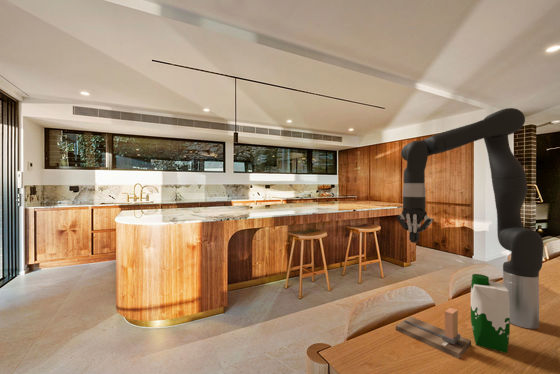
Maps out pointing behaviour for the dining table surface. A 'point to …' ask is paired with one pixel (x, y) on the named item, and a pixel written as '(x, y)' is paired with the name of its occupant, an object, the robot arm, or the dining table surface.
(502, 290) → the milk carton
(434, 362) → the dining table surface
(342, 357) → the dining table surface
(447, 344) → the console
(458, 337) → the fader
